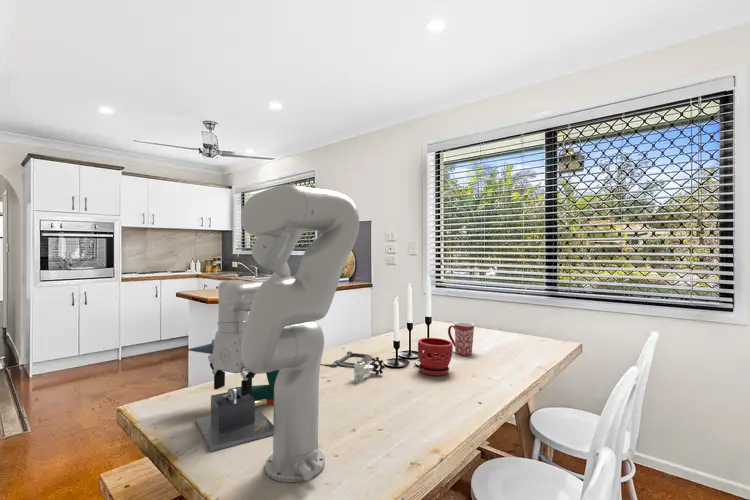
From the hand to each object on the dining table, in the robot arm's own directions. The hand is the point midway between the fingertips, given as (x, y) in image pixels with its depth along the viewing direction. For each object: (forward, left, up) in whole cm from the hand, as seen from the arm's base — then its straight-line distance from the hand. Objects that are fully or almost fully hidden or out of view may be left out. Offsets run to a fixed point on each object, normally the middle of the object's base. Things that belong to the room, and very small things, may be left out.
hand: (232, 390), depth 104 cm
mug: (+17, -105, -9) cm, 107 cm away
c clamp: (+32, -55, -10) cm, 65 cm away
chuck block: (-3, -1, -9) cm, 9 cm away
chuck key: (0, 0, -8) cm, 8 cm away
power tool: (+13, -6, -9) cm, 17 cm away
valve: (+11, -50, -9) cm, 52 cm away
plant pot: (+3, -76, -9) cm, 77 cm away
